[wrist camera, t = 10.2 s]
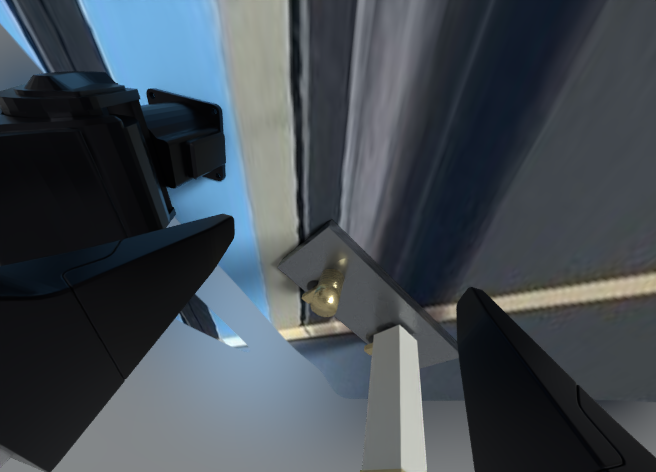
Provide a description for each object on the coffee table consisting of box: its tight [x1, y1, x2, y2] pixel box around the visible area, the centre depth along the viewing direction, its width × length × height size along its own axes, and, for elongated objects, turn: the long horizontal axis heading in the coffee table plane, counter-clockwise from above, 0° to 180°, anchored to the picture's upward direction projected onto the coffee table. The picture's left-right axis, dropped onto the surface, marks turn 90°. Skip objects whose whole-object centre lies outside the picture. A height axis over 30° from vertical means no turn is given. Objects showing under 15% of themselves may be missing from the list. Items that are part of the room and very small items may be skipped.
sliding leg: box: [360, 325, 427, 472], centre depth 23 cm, size 3×6×13 cm, turn 136°
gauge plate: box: [278, 219, 459, 369], centre depth 26 cm, size 21×8×6 cm, turn 46°
